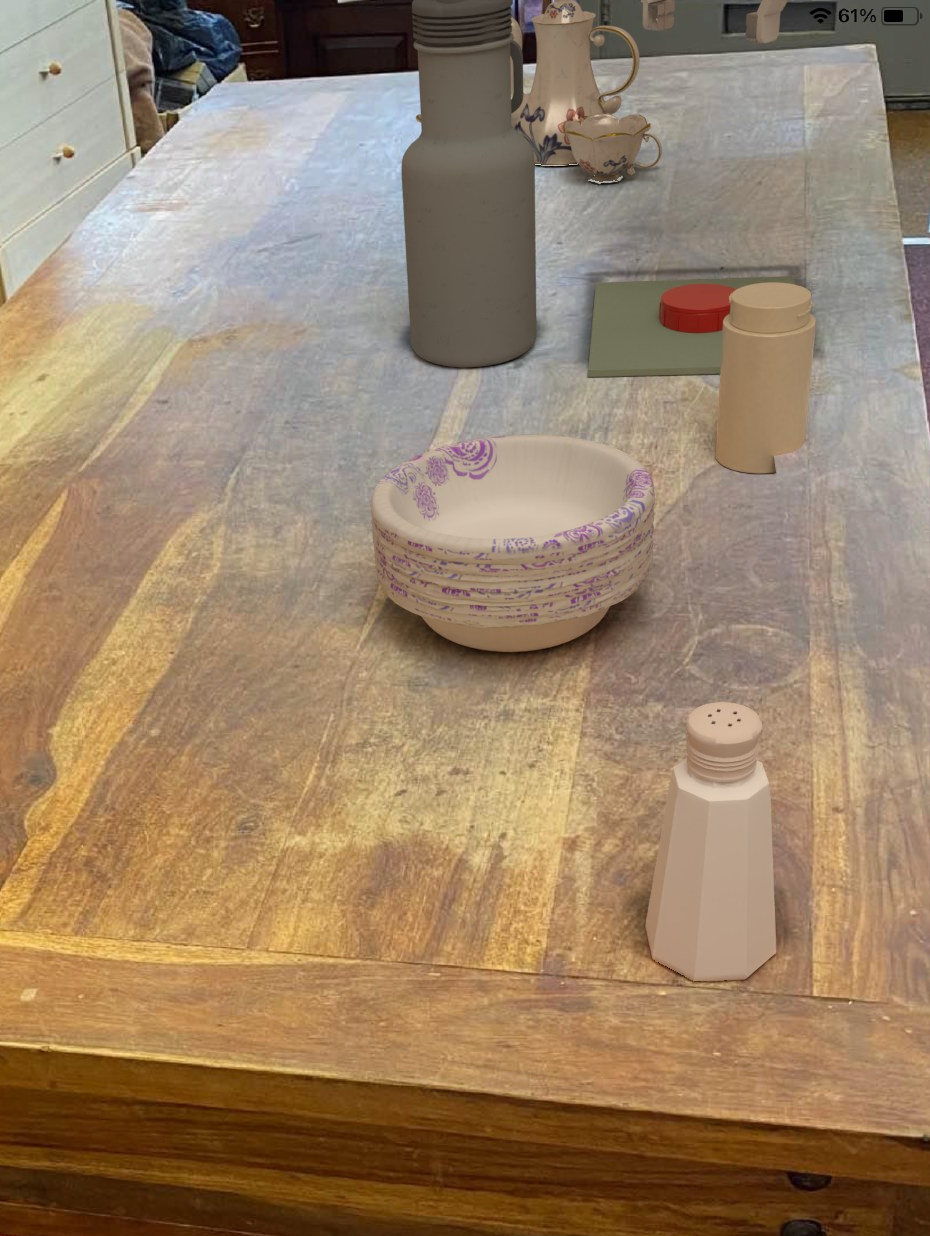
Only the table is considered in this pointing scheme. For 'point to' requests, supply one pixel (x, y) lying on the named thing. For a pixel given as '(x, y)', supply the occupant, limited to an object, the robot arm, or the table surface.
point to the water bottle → (469, 190)
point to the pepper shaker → (715, 853)
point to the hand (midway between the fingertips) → (708, 34)
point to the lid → (695, 308)
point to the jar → (764, 375)
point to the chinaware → (576, 98)
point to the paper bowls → (514, 538)
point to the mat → (652, 331)
